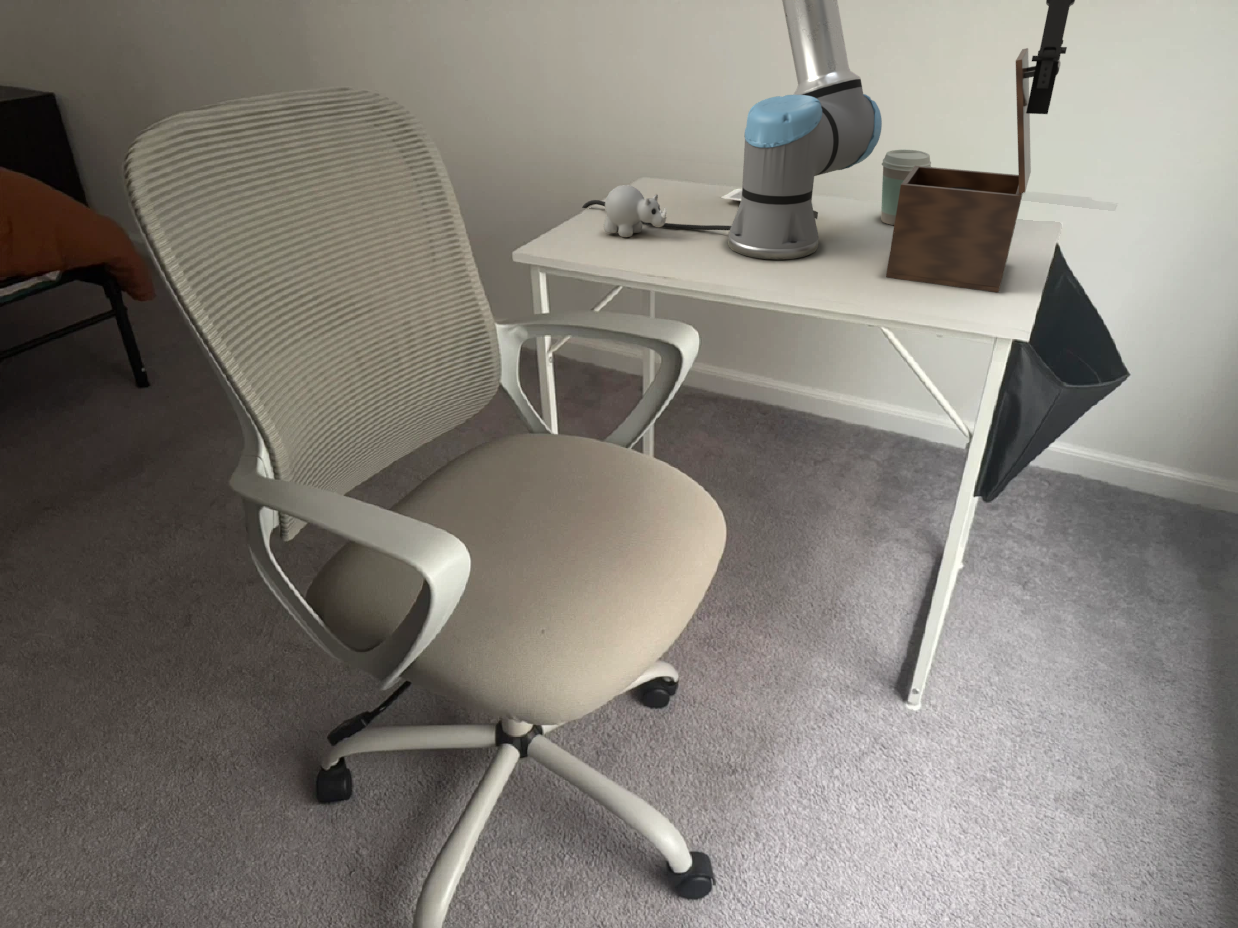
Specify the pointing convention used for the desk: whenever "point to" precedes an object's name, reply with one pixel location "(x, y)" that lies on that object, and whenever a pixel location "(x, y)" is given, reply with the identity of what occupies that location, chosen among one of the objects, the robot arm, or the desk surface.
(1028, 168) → the box lid
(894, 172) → the coffee cup
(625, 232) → the toy rhinoceros
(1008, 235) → the storage box
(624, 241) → the desk surface
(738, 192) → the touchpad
